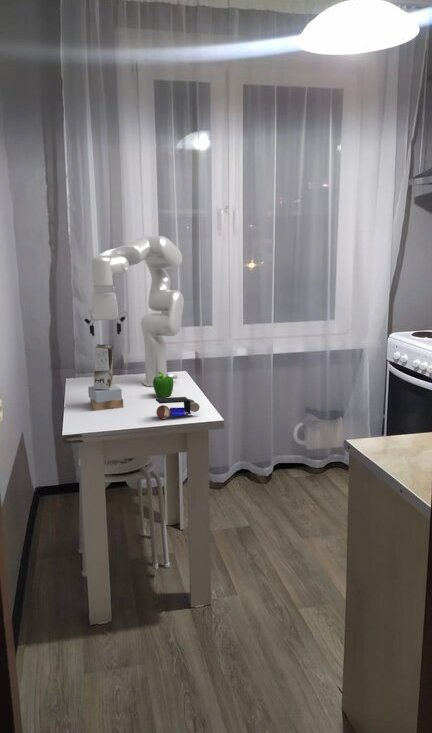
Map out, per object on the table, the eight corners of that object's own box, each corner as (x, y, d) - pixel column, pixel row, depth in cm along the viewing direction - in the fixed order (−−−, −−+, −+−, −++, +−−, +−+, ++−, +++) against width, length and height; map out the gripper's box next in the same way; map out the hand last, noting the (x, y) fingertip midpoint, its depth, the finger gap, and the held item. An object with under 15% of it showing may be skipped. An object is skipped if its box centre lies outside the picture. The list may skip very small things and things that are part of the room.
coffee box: (110, 390, 221) (112, 348, 218) (93, 389, 220) (94, 347, 217) (112, 384, 230) (114, 344, 227) (96, 383, 229) (97, 343, 226)
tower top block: (112, 393, 232) (112, 383, 231) (121, 398, 224) (121, 388, 223) (88, 396, 227) (88, 386, 227) (96, 402, 219) (96, 392, 218)
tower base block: (118, 402, 234) (117, 392, 233) (123, 409, 224) (122, 399, 223) (90, 405, 230) (90, 395, 229) (94, 412, 220) (94, 402, 219)
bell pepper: (175, 397, 237) (175, 373, 235) (156, 399, 234) (155, 375, 232) (171, 392, 245) (170, 369, 243) (152, 394, 242) (151, 371, 240)
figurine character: (192, 415, 217) (153, 416, 211) (194, 395, 216) (155, 395, 210) (198, 420, 211) (158, 421, 205) (200, 400, 210) (160, 400, 204)
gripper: (124, 288, 224) (127, 331, 228) (79, 290, 219) (82, 334, 223) (127, 289, 217) (129, 334, 221) (80, 291, 212) (83, 337, 216)
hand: (105, 334), depth 222 cm, fingers open, 9 cm apart
